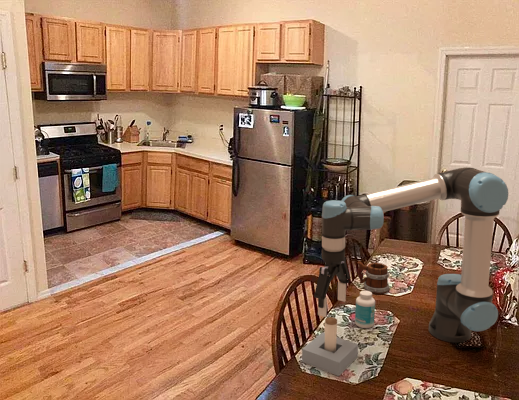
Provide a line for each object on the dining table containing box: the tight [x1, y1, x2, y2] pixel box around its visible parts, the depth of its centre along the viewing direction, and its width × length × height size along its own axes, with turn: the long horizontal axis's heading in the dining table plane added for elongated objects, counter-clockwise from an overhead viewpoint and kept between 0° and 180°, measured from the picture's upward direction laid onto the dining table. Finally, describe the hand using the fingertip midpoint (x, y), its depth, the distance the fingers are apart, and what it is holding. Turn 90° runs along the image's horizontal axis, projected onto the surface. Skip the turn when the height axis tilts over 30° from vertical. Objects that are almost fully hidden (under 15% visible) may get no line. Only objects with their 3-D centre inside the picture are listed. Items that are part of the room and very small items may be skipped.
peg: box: [324, 316, 338, 353], centre depth 162 cm, size 4×4×15 cm
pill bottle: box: [354, 290, 376, 329], centre depth 186 cm, size 8×7×14 cm
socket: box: [301, 331, 359, 377], centre depth 163 cm, size 14×14×5 cm
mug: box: [357, 260, 390, 295], centre depth 218 cm, size 12×14×15 cm
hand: (332, 307), depth 159 cm, fingers open, 13 cm apart
